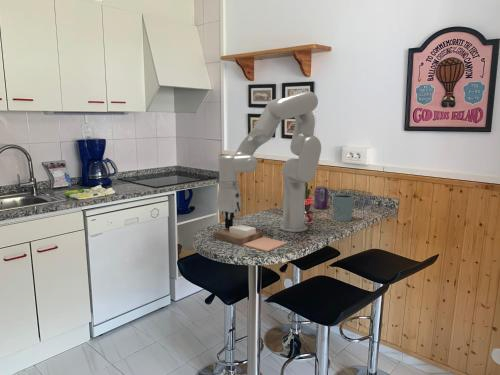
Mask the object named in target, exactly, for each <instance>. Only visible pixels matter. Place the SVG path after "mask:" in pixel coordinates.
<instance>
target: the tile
mask: <svg viewBox="0 0 500 375" xmlns="http://www.w3.org/2000/svg"><path fill="white" fill-rule="evenodd" d="M256 230H257V229H256V227H253V226H249V225H246V224H245V225H244V224H241V223H239V224H235V225H233V226H231V227H230V233H233V234H237V235H241V236H245V237H247V236H250V235H253V234H256Z"/></svg>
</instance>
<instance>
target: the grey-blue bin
mask: <svg viewBox="0 0 500 375" xmlns="http://www.w3.org/2000/svg"><path fill="white" fill-rule="evenodd" d="M332 201H333V204H332V205H333V207H332V208H333V220H334V221H336V220H337V221H336V222H341V221H348V222H351V221H352V217H353V216H352V215H353V210H354V209H353V208H354V201H355V196H354V195H352V194H346V193H338V194H333V195H332Z"/></svg>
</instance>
